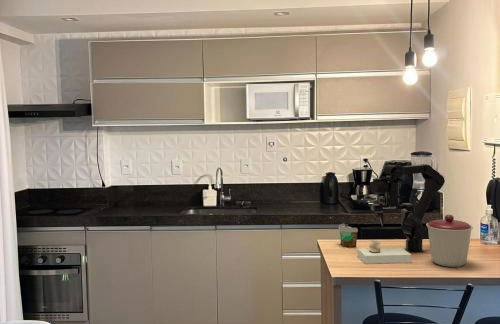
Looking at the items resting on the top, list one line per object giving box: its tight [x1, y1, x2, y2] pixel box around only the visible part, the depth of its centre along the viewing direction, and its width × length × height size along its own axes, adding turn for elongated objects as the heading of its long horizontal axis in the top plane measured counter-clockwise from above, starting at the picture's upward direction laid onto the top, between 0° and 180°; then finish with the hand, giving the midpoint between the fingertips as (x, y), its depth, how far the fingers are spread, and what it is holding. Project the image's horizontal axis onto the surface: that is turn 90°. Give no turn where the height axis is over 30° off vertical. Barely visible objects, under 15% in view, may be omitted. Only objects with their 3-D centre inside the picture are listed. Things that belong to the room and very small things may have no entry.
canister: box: [425, 214, 474, 268], centre depth 190 cm, size 18×18×21 cm
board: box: [357, 247, 412, 265], centre depth 199 cm, size 20×12×4 cm, turn 92°
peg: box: [368, 240, 381, 253], centre depth 199 cm, size 5×5×7 cm
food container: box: [338, 223, 359, 249], centre depth 224 cm, size 12×6×10 cm, turn 21°
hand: (392, 225), depth 208 cm, fingers open, 9 cm apart
